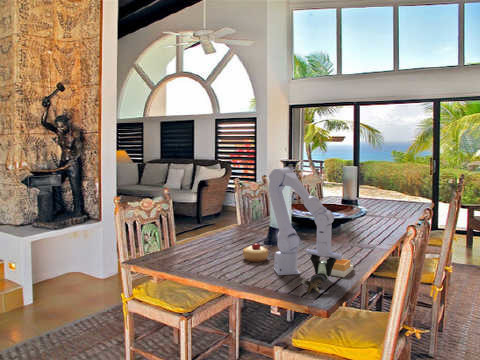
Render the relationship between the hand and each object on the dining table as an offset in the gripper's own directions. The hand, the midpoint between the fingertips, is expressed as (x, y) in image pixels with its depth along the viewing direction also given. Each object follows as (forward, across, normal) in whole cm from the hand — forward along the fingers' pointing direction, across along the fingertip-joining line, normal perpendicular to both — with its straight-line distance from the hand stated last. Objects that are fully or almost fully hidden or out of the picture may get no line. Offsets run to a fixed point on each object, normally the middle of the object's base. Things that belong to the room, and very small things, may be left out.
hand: (323, 274), depth 161 cm
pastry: (+2, +36, -8) cm, 38 cm away
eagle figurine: (+2, -2, +13) cm, 14 cm away
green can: (+2, 0, 0) cm, 2 cm away
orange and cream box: (+2, -2, -13) cm, 13 cm away
